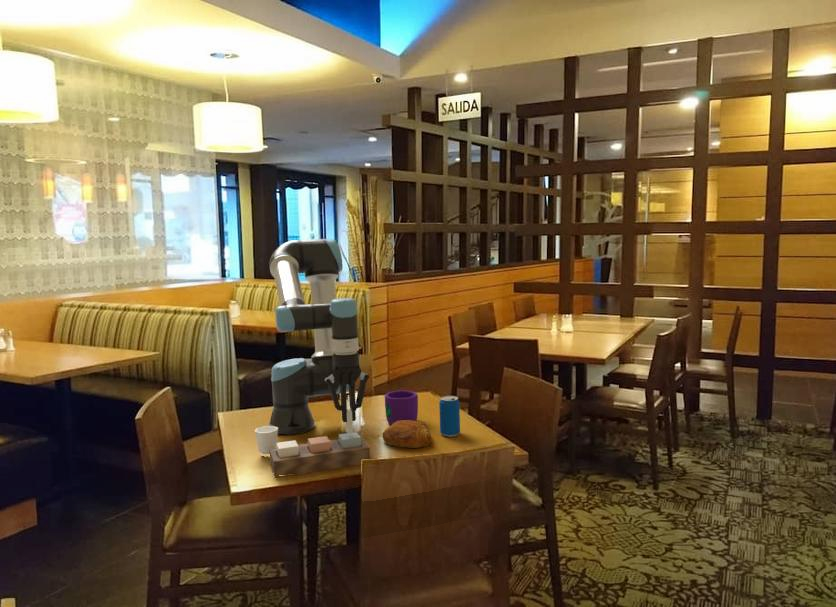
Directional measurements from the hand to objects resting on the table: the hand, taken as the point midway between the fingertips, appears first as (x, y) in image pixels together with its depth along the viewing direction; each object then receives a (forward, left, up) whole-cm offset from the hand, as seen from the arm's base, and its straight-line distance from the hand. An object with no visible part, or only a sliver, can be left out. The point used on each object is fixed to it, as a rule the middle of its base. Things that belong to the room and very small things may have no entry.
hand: (349, 432), depth 185 cm
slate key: (0, 0, -6) cm, 6 cm away
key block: (-6, -6, -8) cm, 12 cm away
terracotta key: (-6, -6, -6) cm, 11 cm away
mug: (-4, +39, -8) cm, 40 cm away
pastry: (+9, +20, -9) cm, 23 cm away
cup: (-26, -5, -8) cm, 28 cm away
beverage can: (+19, +31, -8) cm, 37 cm away
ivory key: (-13, -13, -6) cm, 19 cm away
